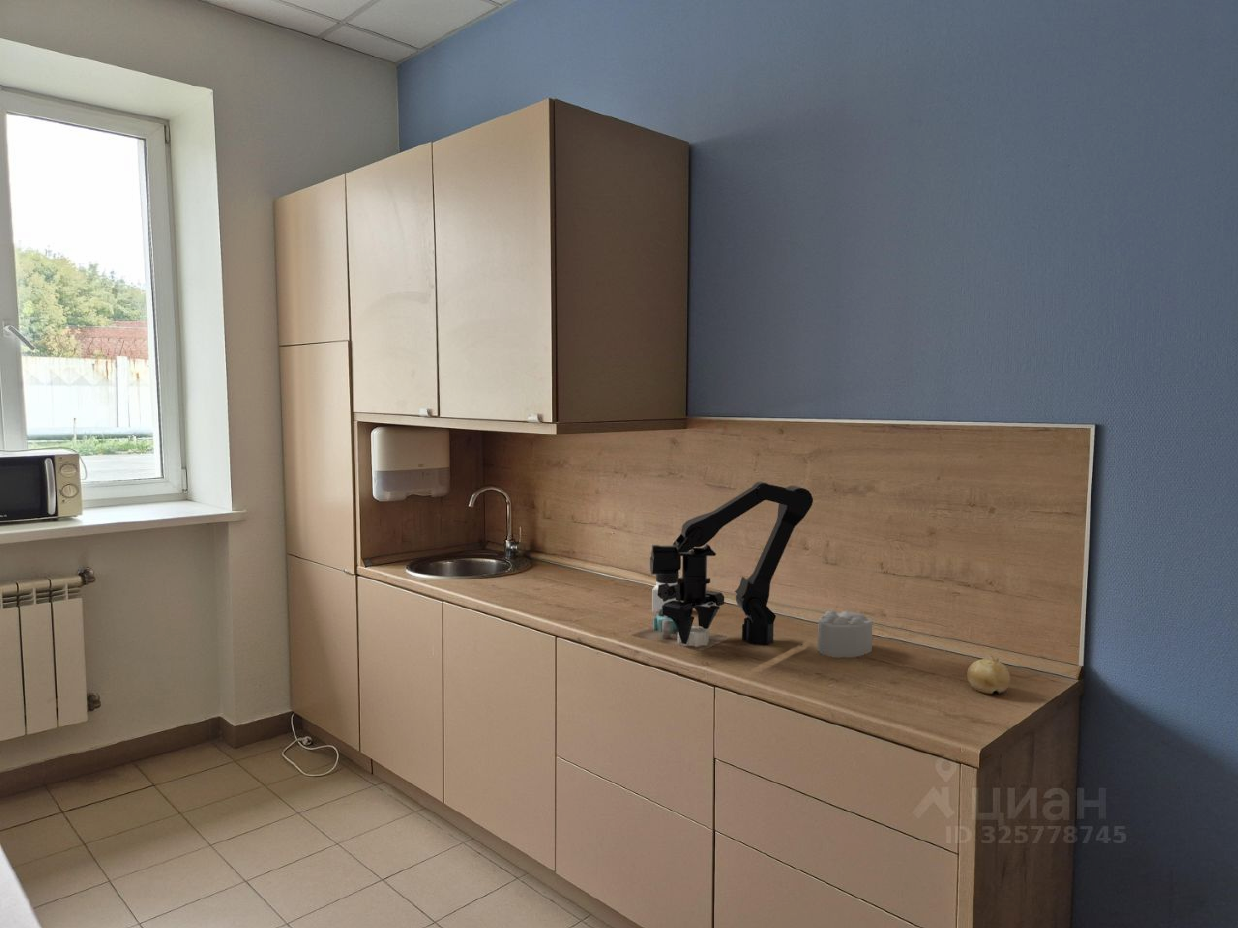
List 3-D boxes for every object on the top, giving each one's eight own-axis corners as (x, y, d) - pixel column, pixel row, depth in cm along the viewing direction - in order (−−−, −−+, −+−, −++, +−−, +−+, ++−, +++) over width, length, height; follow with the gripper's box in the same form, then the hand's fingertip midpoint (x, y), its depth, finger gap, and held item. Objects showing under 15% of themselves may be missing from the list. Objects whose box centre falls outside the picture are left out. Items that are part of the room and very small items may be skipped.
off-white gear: (714, 641, 200) (714, 629, 200) (698, 648, 195) (698, 635, 194) (688, 636, 205) (688, 623, 204) (671, 642, 199) (671, 630, 199)
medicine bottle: (678, 616, 227) (678, 572, 226) (651, 615, 228) (652, 571, 227) (681, 610, 234) (682, 567, 233) (655, 608, 235) (656, 565, 234)
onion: (1010, 700, 166) (1011, 664, 165) (966, 694, 169) (967, 659, 169) (1008, 687, 173) (1010, 653, 173) (966, 682, 176) (968, 648, 176)
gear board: (731, 641, 204) (732, 620, 204) (701, 654, 193) (701, 633, 193) (662, 627, 216) (663, 607, 216) (630, 639, 205) (630, 618, 205)
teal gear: (688, 628, 212) (688, 610, 211) (672, 634, 206) (672, 615, 205) (664, 623, 216) (664, 605, 216) (647, 629, 210) (648, 611, 210)
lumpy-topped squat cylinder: (877, 650, 198) (879, 614, 197) (843, 661, 190) (844, 622, 189) (840, 640, 206) (841, 605, 206) (806, 650, 198) (807, 613, 197)
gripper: (686, 563, 211) (685, 625, 212) (642, 575, 196) (642, 642, 197) (726, 569, 204) (724, 633, 205) (683, 582, 189) (682, 651, 190)
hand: (693, 639), depth 200 cm, fingers open, 8 cm apart
